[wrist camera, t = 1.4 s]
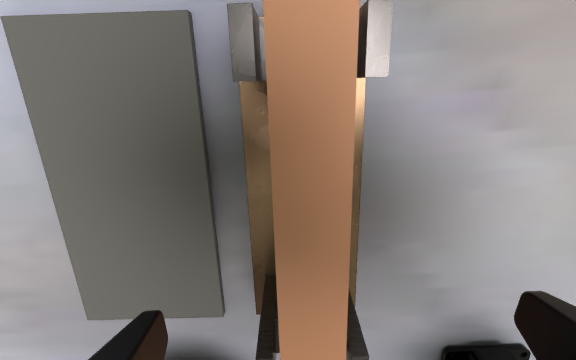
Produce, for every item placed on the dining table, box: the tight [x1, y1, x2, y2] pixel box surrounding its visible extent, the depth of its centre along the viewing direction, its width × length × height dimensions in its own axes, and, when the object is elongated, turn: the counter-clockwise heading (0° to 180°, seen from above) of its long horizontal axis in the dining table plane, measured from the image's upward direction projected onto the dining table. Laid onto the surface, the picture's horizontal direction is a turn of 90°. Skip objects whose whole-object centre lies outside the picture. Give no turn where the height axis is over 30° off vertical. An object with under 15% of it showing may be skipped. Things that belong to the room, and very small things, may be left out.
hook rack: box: [227, 0, 393, 360], centre depth 16 cm, size 19×7×8 cm, turn 2°
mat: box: [0, 10, 225, 320], centre depth 19 cm, size 20×10×1 cm, turn 2°
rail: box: [263, 0, 360, 360], centre depth 13 cm, size 20×3×3 cm, turn 2°
